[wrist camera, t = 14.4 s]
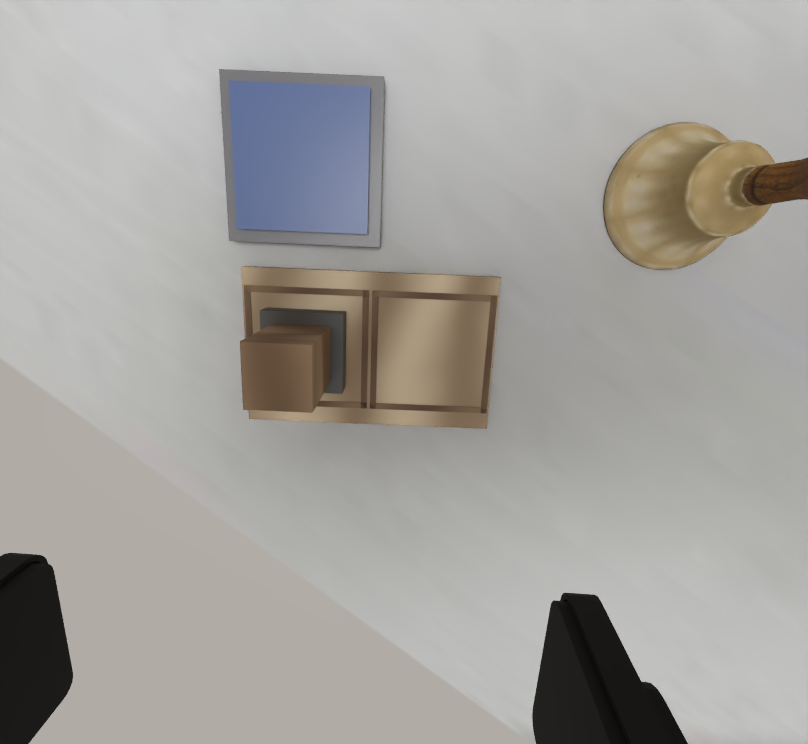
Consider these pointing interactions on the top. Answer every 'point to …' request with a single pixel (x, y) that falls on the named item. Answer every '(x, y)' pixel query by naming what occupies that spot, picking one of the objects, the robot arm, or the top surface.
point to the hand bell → (692, 193)
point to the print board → (393, 342)
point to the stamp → (293, 359)
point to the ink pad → (303, 157)
